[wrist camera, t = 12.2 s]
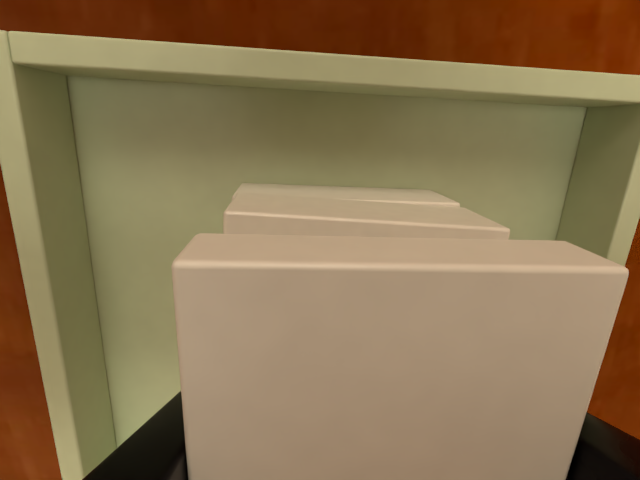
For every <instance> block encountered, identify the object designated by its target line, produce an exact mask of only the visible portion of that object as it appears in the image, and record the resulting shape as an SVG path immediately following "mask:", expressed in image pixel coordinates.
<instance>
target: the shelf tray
mask: <svg viewBox="0 0 640 480" xmlns="http://www.w3.org/2000/svg"><path fill="white" fill-rule="evenodd" d="M0 164H1V169H2V174H3V179H4V184H5V189H6V194H7V199H8V205H9V210H10V215H11V220H12V225H13V230H14V235H15V240H16V246H17V251H18V256H19V261H20V266H21V271H22V276H23V281H24V287H25V292H26V297H27V302H28V307H29V312H30V317H31V322H32V328H33V333H34V338H35V343H36V348H37V353H38V358H39V363H40V369H41V374H42V379H43V384H44V389H45V394H46V399H47V404H48V410H49V415H50V420H51V425H52V430H53V435H54V440H55V445H56V451H57V456H58V461H59V466H60V471H61V476H62V480H82V479H83V478H84V477H85V476H87V475H88V474H89V473H90V472H91V471H92V470H93V469H94V468H95V467H97V466H98V465H99V464H100V463H101V462H102V461H103V460H104V459H105V458H107V457H108V456H109V455H110V454H111V453H112V452H113V451H114V450H115V449H117V448H118V447H119V446H120V445H121V444H122V443H123V442H124V441H125V440H127V439H128V438H129V437H130V436H131V435H132V434H133V433H134V432H135V431H137V430H138V429H139V428H140V427H141V426H142V425H143V424H144V423H145V422H147V421H148V420H149V419H150V418H151V417H152V416H153V415H154V414H155V413H157V412H158V411H159V410H160V409H161V408H162V407H163V406H164V405H165V404H167V403H168V402H169V401H170V400H171V399H172V398H173V397H174V396H175V395H177V394H178V393H179V392H180V391H181V383H180V370H179V357H178V345H177V332H176V319H175V307H174V294H173V281H172V269H171V266H172V263H173V261H174V259H175V258H176V257H177V256H178V255H179V254H180V252H181V251H182V250H183V249H184V248H185V247H186V245H187V244H188V243H189V242H190V241H191V240H192V238H193V237H194V236H195V235H197V234H200V233H216V234H223V213H224V211H225V210H226V208H227V207H228V206H229V204H230V203H231V201H232V196H233V195H234V193H235V192H236V191H237V189H238V188H239V187H240V185H241V184H242V183H258V184H286V185H313V186H341V187H369V188H396V189H424V190H432V191H434V192H436V193H438V194H440V195H443V196H445V197H447V198H449V199H451V200H454V201H456V202H458V203H460V207H463V208H466V209H468V210H470V211H473V212H475V213H477V214H479V215H481V216H483V217H485V218H488V219H490V220H492V221H494V222H496V223H498V224H500V225H503V226H505V227H507V228H509V229H510V235H509V239H508V240H552V241H566V242H569V243H571V244H573V245H576V246H578V247H580V248H583V249H585V250H587V251H590V252H592V253H594V254H596V255H599V256H601V257H603V258H606V259H608V260H610V261H613V262H615V263H617V264H620V265H622V266H624V267H625V263H626V260H627V257H628V253H629V250H630V247H631V244H632V240H633V237H634V234H635V230H636V227H637V224H638V221H639V217H640V75H628V74H614V73H600V72H586V71H571V70H557V69H543V68H529V67H515V66H501V65H486V64H472V63H458V62H444V61H430V60H416V59H402V58H387V57H373V56H359V55H345V54H331V53H317V52H303V51H288V50H274V49H260V48H246V47H232V46H218V45H204V44H189V43H175V42H161V41H147V40H133V39H119V38H105V37H90V36H76V35H62V34H48V33H34V32H20V31H9V32H7V31H4V30H0Z"/></svg>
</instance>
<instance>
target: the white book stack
mask: <svg viewBox="0 0 640 480" xmlns="http://www.w3.org/2000/svg"><path fill="white" fill-rule="evenodd" d="M223 234H264V235H312V236H360V237H408V238H456V239H504V240H508V239H509V235H510V229H509V228H507V227H505V226H503V225H500V224H498V223H496V222H494V221H492V220H490V219H488V218H485V217H483V216H481V215H479V214H477V213H475V212H473V211H470V210H468V209H466V208H463V207H460V203H458V202H456V201H454V200H451V199H449V198H447V197H445V196H443V195H440V194H438V193H436V192H434V191H432V190H424V189H396V188H369V187H341V186H313V185H286V184H258V183H242V184H241V185H240V187H239V188H238V189H237V191H236V192H235V193H234V195H233V196H232V201H231V203H230V204H229V206H228V207H227V208H226V210H225V211H224V213H223Z"/></svg>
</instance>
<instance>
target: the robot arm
mask: <svg viewBox="0 0 640 480" xmlns="http://www.w3.org/2000/svg"><path fill="white" fill-rule="evenodd" d="M82 480H188V471H187V459H186V446H185V433H184V421H183V408H182V395H181V391H180V392H179V393H178V394H177V395H175V396H174V397H173V398H172V399H171V400H170V401H169V402H168V403H167V404H165V405H164V406H163V407H162V408H161V409H160V410H159V411H158V412H157V413H155V414H154V415H153V416H152V417H151V418H150V419H149V420H148V421H147V422H145V423H144V424H143V425H142V426H141V427H140V428H139V429H138V430H137V431H135V432H134V433H133V434H132V435H131V436H130V437H129V438H128V439H127V440H125V441H124V442H123V443H122V444H121V445H120V446H119V447H118V448H117V449H115V450H114V451H113V452H112V453H111V454H110V455H109V456H108V457H107V458H105V459H104V460H103V461H102V462H101V463H100V464H99V465H98V466H97V467H95V468H94V469H93V470H92V471H91V472H90V473H89V474H88V475H87V476H85V477H84V478H83V479H82ZM566 480H640V440H639V439H637V438H635V437H633V436H631V435H629V434H627V433H625V432H623V431H621V430H620V429H618V428H616V427H614V426H612V425H610V424H608V423H606V422H604V421H603V420H601V419H599V418H597V417H595V416H593V415H591V414H589V413H587V412H586V416H585V419H584V422H583V425H582V428H581V432H580V435H579V438H578V441H577V445H576V448H575V451H574V454H573V458H572V461H571V464H570V467H569V471H568V474H567V477H566Z"/></svg>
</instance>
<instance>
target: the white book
mask: <svg viewBox="0 0 640 480" xmlns="http://www.w3.org/2000/svg"><path fill="white" fill-rule="evenodd" d="M171 269H172V281H173V294H174V307H175V319H176V332H177V345H178V357H179V370H180V383H181V395H182V408H183V421H184V433H185V446H186V459H187V471H188V480H566V477H567V474H568V471H569V467H570V464H571V461H572V458H573V454H574V451H575V448H576V445H577V441H578V438H579V435H580V432H581V428H582V425H583V422H584V419H585V416H586V412H587V409H588V406H589V403H590V399H591V396H592V393H593V390H594V386H595V383H596V380H597V377H598V373H599V370H600V367H601V364H602V360H603V357H604V354H605V351H606V347H607V344H608V341H609V338H610V334H611V331H612V328H613V325H614V321H615V318H616V315H617V312H618V308H619V305H620V302H621V299H622V295H623V292H624V289H625V286H626V282H627V279H628V276H629V271H628V269H627V268H626V267H624V266H622V265H620V264H617V263H615V262H613V261H610V260H608V259H606V258H603V257H601V256H599V255H596V254H594V253H592V252H590V251H587V250H585V249H583V248H580V247H578V246H576V245H573V244H571V243H569V242H566V241H552V240H504V239H456V238H408V237H360V236H312V235H264V234H216V233H200V234H197V235H195V236H194V237H193V238H192V240H191V241H190V242H189V243H188V244H187V245H186V247H185V248H184V249H183V250H182V251H181V252H180V254H179V255H178V256H177V257H176V258H175V259H174V261H173V263H172V266H171Z"/></svg>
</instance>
